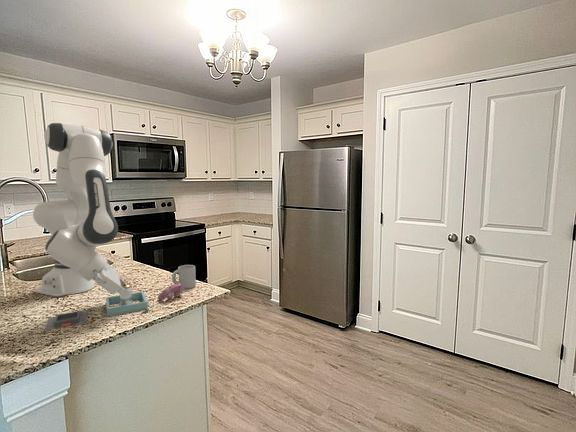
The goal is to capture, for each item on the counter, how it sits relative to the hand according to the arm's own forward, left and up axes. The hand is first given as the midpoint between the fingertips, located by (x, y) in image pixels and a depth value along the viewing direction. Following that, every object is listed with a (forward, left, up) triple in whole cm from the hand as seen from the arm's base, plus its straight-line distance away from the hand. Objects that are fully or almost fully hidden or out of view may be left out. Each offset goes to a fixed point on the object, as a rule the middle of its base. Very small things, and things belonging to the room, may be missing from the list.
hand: (127, 290), depth 114 cm
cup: (+7, +28, -8) cm, 30 cm away
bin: (0, 0, -7) cm, 7 cm away
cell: (0, 0, -7) cm, 7 cm away
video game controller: (+9, +14, -8) cm, 19 cm away
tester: (-11, -14, -7) cm, 20 cm away
